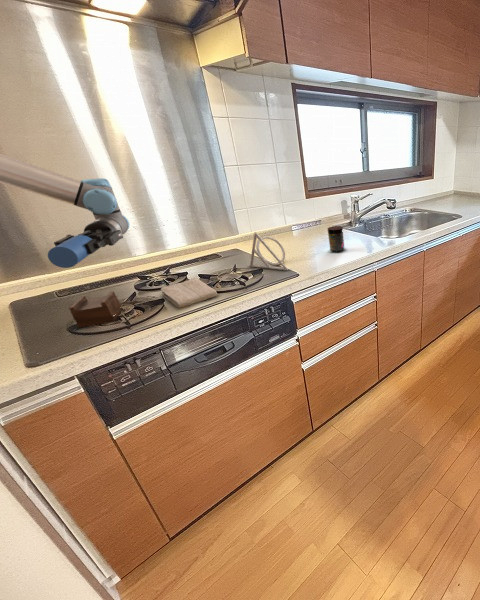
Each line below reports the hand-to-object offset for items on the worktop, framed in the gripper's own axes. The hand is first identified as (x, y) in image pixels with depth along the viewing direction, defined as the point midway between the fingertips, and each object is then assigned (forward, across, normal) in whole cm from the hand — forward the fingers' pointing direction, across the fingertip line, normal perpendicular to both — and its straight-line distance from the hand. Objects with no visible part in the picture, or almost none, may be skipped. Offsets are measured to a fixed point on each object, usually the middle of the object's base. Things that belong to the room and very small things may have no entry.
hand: (73, 250), depth 87 cm
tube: (0, 0, 0) cm, 0 cm away
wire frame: (-22, -50, -20) cm, 58 cm away
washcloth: (-4, -22, -20) cm, 30 cm away
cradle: (+2, 0, -20) cm, 20 cm away
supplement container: (-29, -78, -20) cm, 86 cm away
